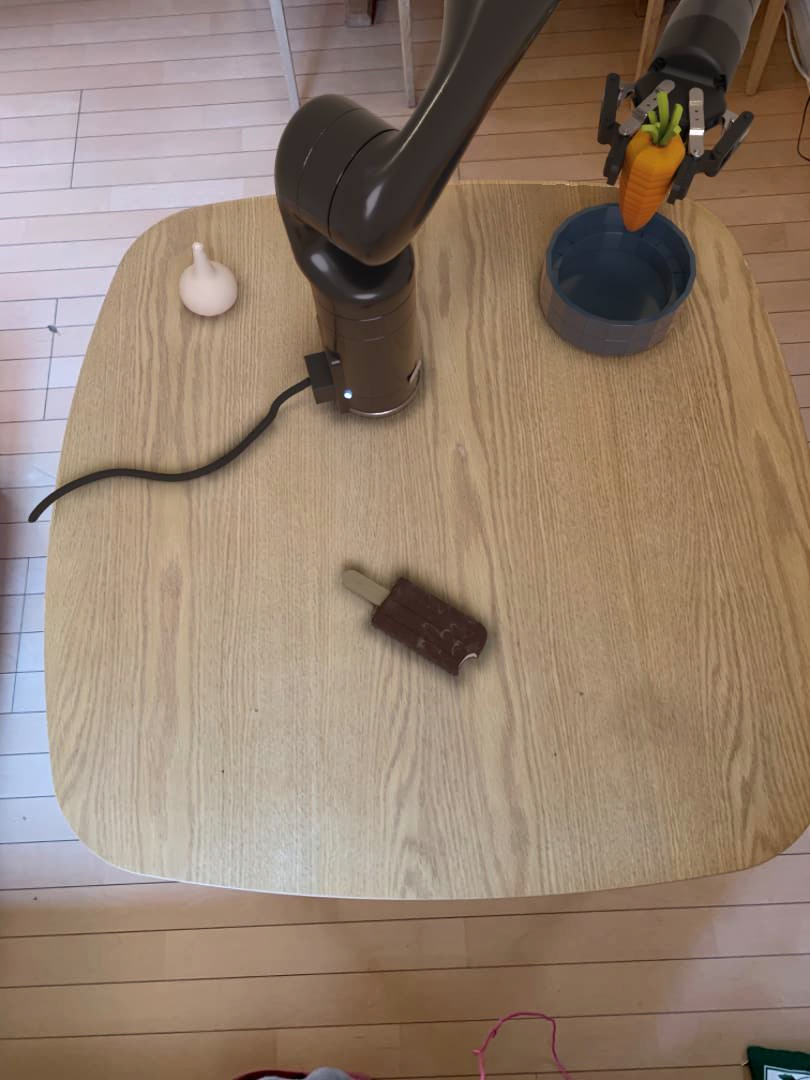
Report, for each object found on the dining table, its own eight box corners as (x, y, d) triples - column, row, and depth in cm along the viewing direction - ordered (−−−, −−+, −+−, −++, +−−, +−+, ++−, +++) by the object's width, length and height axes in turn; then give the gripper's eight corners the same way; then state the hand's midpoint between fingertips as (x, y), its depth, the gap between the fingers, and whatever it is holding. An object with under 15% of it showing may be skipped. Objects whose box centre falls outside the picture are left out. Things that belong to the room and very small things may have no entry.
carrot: (654, 254, 81) (699, 131, 67) (602, 247, 82) (636, 123, 68) (659, 212, 83) (704, 84, 69) (608, 206, 84) (642, 77, 69)
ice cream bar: (329, 599, 82) (463, 681, 79) (327, 594, 80) (463, 678, 77) (359, 555, 83) (492, 634, 80) (358, 549, 82) (493, 630, 78)
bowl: (564, 373, 89) (573, 340, 84) (521, 258, 95) (527, 221, 89) (701, 339, 90) (719, 305, 85) (651, 227, 95) (664, 188, 90)
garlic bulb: (172, 305, 94) (149, 258, 86) (206, 265, 96) (186, 215, 88) (218, 330, 93) (199, 284, 85) (251, 289, 94) (235, 240, 87)
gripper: (634, -8, 76) (570, 130, 71) (792, 34, 74) (737, 180, 69) (617, 64, 83) (558, 194, 78) (761, 105, 81) (709, 241, 76)
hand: (642, 187), depth 74 cm, fingers closed on carrot, 5 cm apart
